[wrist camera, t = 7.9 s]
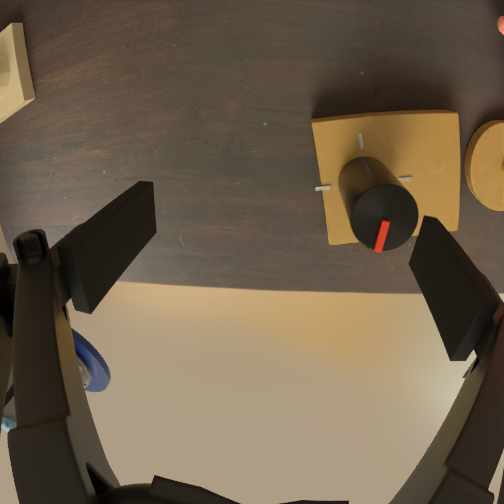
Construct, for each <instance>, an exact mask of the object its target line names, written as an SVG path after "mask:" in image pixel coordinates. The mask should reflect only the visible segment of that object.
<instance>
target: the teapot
mask: <svg viewBox="0 0 504 504" xmlns="http://www.w3.org/2000/svg"><path fill="white" fill-rule="evenodd" d="M497 27H498V29H499V31H500V32H501V33H502V34H503V35H504V16H500V17H499V18H498V20H497Z"/></svg>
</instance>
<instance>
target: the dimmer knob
mask: <svg viewBox="0 0 504 504" xmlns="http://www.w3.org/2000/svg"><path fill="white" fill-rule="evenodd" d="M338 187H339V191H340V194H341V197H342V200H343V203H344V207H345V210H346V213H347V216H348V219H349V223H350V226H351V229H352V232H353V234H354V236H355V238H356V239H357V240H358V241H359V242H360V243H361V244H362V245H364V246H365V247H367V248H370V249H372V250H374V252H379V253H381V252H382V251H387V250H392V249H395V248H397V247H399V246H401V245H402V244H404V243H405V242H406V241H407V240H408V239H409V238H410V237H411V236H412V234H413V233H414V231H415V229H416V227H417V224H418V218H419V211H418V206H417V203H416V201H415V199H414V197H413V196H412V195H411V194H410V192H409V191H408V190H407V189H406V188H405V187H404V186H403V184H402V183H401V182H400V181H399V180H398V179H397V178H396V177H395V176H394V175H393V173H392V172H391V171H390V170H389V169H388V168H387V167H386V166H385V165H384V164H383V163H382V162H381V161H379V160H378V159H375V158H373V157H367V156H363V157H358V158H355V159H353V160H351V161H349V162H348V163H347V164H346V165H345V166H344V167H343V169H342V170H341V172H340V175H339V179H338Z"/></svg>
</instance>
